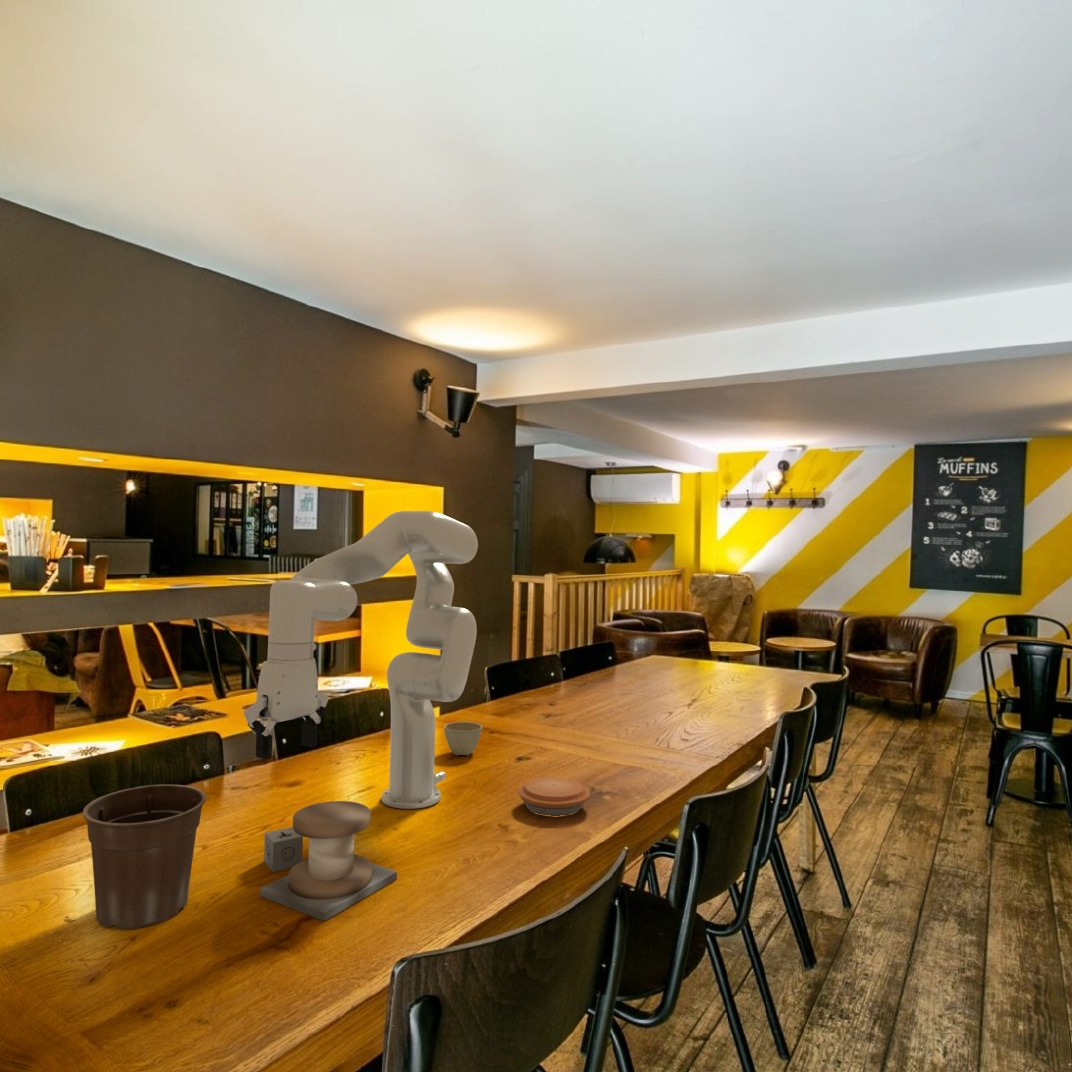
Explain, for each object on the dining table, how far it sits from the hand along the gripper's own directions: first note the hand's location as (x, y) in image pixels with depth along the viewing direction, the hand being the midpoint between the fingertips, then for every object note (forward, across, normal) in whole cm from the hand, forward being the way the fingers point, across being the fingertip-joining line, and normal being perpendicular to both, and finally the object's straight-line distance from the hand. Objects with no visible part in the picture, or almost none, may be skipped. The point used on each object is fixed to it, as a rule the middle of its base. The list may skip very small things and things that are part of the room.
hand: (286, 751), depth 126 cm
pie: (+18, -50, +26) cm, 59 cm away
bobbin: (+19, +2, +13) cm, 23 cm away
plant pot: (+20, +22, -5) cm, 30 cm away
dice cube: (+20, 0, 0) cm, 20 cm away
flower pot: (+18, -70, -13) cm, 74 cm away
